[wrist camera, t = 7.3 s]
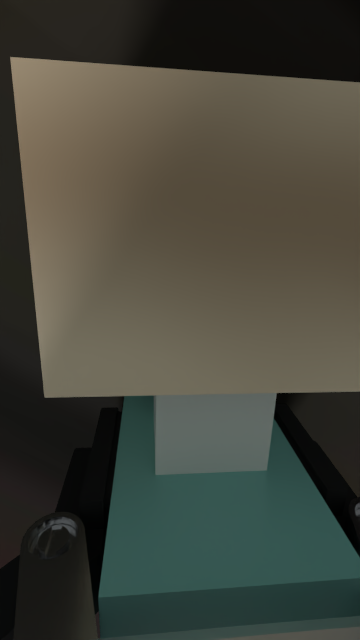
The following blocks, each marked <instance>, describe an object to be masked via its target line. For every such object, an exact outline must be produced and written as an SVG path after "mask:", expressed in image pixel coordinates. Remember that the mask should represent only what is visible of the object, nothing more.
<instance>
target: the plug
mask: <svg viewBox="0 0 360 640" xmlns="http://www.w3.org/2000/svg"><path fill="white" fill-rule="evenodd" d="M276 395H277V393H253V394H202V395H150V396H124V403H123V411H122V418H121V426H120V434H119V441H118V449H117V457H116V465H115V472H114V480H113V488H112V495H111V503H110V511H109V519H108V526H107V534H106V542H105V549H104V557H103V565H102V573H101V580H100V588H99V596H98V602H99V619H100V636H101V639H102V638H112V637H123V636H134V635H145V634H156V633H167V632H177V631H188V630H199V629H210V628H221V627H233V626H245V625H256V624H268V623H279V622H291V621H303V620H315V619H327V618H339V617H352V616H360V557H359V556H358V554H357V553H356V551H355V549H354V548H353V546H352V544H351V543H350V541H349V540H348V538H347V536H346V535H345V533H344V531H343V530H342V528H341V527H340V525H339V523H338V522H337V520H336V518H335V517H334V515H333V514H332V512H331V510H330V509H329V507H328V505H327V504H326V502H325V501H324V499H323V497H322V496H321V494H320V493H319V491H318V489H317V488H316V486H315V484H314V483H313V481H312V480H311V478H310V476H309V475H308V473H307V471H306V470H305V468H304V467H303V465H302V463H301V462H300V460H299V458H298V457H297V455H296V454H295V452H294V450H293V449H292V447H291V445H290V444H289V442H288V441H287V439H286V437H285V436H284V434H283V432H282V431H281V429H280V428H279V426H278V424H277V423H276V421H275V419H274V411H275V403H276Z"/></svg>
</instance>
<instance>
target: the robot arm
mask: <svg viewBox="0 0 360 640" xmlns="http://www.w3.org/2000/svg"><path fill="white" fill-rule="evenodd" d="M121 418H122V412H118V408H102V409H101V412H100V417H99V421H98V425H97V429H96V433H95V437H94V442H93V446H92V448H76V449H75V450H74V453H73V456H72V459H71V462H70V466H69V469H68V472H67V475H66V479H65V482H64V485H63V488H62V491H61V495H60V498H59V501H58V504H57V507H56V511H55V513H51V514H49V515H46V516H44V517H42V518H40V519H39V520H37V521H36V522H35V523H34V524H33V525H32V526H31V527H30V528H29V529H28V530H27V531H26V533H25V535H24V536H23V539H22V543H21V549H20V555H19V556H17V557H16V558H15V559H13V560H12V561H10V562H9V563H8V564H6V565H5V566H4V567H2V568H1V569H0V640H360V616H352V617H339V618H327V619H315V620H303V621H291V622H279V623H268V624H256V625H245V626H233V627H221V628H210V629H199V630H188V631H177V632H167V633H156V634H145V635H134V636H123V637H112V638H102V639H98V637H97V629H96V620H95V614H96V613H97V612H98V611H99V602H98V596H99V588H100V580H101V573H102V565H103V557H104V549H105V542H106V534H107V526H108V519H109V511H110V503H111V495H112V488H113V480H114V472H115V465H116V457H117V449H118V441H119V434H120V426H121ZM274 419H275V421H276V423H277V424H278V426H279V428H280V429H281V431H282V432H283V434H284V436H285V437H286V439H287V441H288V442H289V444H290V445H291V447H292V449H293V450H294V452H295V454H296V455H297V457H298V458H299V460H300V462H301V463H302V465H303V467H304V468H305V470H306V471H307V473H308V475H309V476H310V478H311V480H312V481H313V483H314V484H315V486H316V488H317V489H318V491H319V493H320V494H321V496H322V497H323V499H324V501H325V502H326V504H327V505H328V507H329V509H330V510H331V512H332V514H333V515H334V517H335V518H336V520H337V522H338V523H339V525H340V527H341V528H342V530H343V531H344V533H345V535H346V536H347V538H348V540H349V541H350V543H351V544H352V546H353V548H354V549H355V551H356V553H357V554H358V556H359V557H360V497H357V496H356V495H355V493H354V492H353V491H352V489H351V488H350V487H349V485H348V484H347V483H346V481H345V480H344V479H343V477H342V476H341V474H340V473H339V472H338V470H337V469H336V468H335V466H334V465H333V464H332V462H331V461H330V460H329V458H328V457H327V456H326V454H325V453H324V451H323V450H322V449H321V447H320V446H319V445H318V444H317V443H316V442H315V441H313V440H312V438H311V437H310V436H309V434H308V433H307V432H306V430H305V429H304V427H303V426H302V425H301V423H300V422H299V421H298V419H297V418H296V416H295V415H294V414H293V412H292V411H291V410H290V408H289V407H288V405H286V404H275V411H274Z"/></svg>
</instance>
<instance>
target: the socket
mask: <svg viewBox="0 0 360 640" xmlns="http://www.w3.org/2000/svg"><path fill="white" fill-rule="evenodd" d="M10 58H11V68H12V78H13V88H14V98H15V108H16V118H17V128H18V138H19V148H20V158H21V167H22V177H23V187H24V197H25V207H26V217H27V227H28V237H29V247H30V257H31V267H32V277H33V287H34V297H35V307H36V317H37V327H38V337H39V347H40V357H41V366H42V376H43V386H44V396H45V398H48V397H99V396H150V395H202V394H253V393H304V392H355V391H360V83H359V82H346V81H332V80H318V79H304V78H291V77H277V76H263V75H249V74H235V73H222V72H208V71H194V70H180V69H167V68H153V67H139V66H125V65H111V64H98V63H84V62H70V61H56V60H43V59H29V58H15V57H10Z"/></svg>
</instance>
